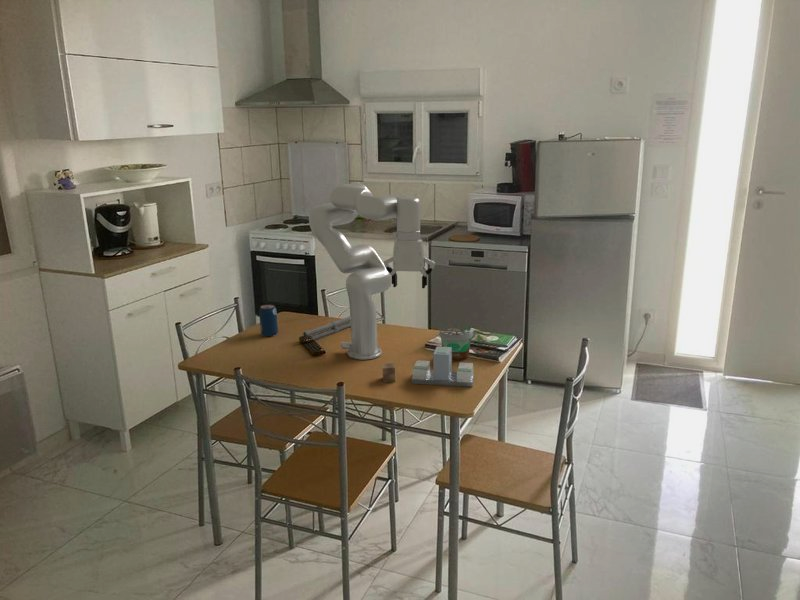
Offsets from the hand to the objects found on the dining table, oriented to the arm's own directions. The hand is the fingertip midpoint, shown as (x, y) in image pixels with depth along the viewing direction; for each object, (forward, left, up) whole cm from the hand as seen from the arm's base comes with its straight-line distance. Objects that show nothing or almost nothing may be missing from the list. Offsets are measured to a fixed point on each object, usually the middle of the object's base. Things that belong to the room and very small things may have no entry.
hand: (409, 286), depth 217 cm
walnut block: (-6, -8, -30) cm, 32 cm away
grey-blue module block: (+12, -6, -29) cm, 32 cm away
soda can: (-64, +30, -30) cm, 77 cm away
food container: (+14, +14, -30) cm, 36 cm away
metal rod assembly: (-40, +34, -31) cm, 61 cm away
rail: (+12, -6, -30) cm, 33 cm away
